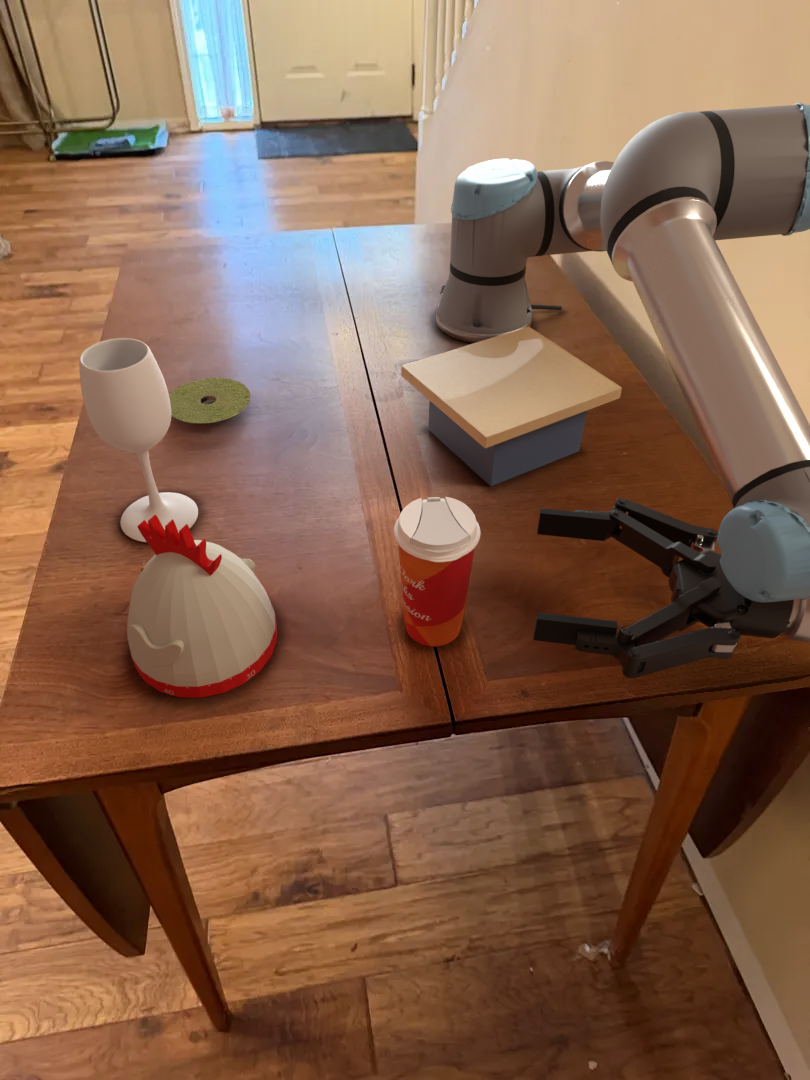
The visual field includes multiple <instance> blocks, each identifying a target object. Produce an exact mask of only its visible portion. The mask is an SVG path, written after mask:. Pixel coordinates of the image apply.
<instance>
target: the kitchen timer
mask: <svg viewBox="0 0 810 1080" xmlns="http://www.w3.org/2000/svg"><path fill="white" fill-rule="evenodd" d="M137 527H138V529H139V531H140V533H141V534H142V536H143V537H144V539H145V540H146V542H145V543H147V545H148V546H149V547H150V549H151V551H152V552H153V553H154V555H153V556H152V557H151V558H150V559H149V560H148V561H147V563H146V564H145V565H144V566H142V567H141V568H140V574H139V575H138V577H137V579H136V580H135V583H134V585H133V587H132V592H131V595H130V602H129V606H128V607H129V608H128V615H127V623H126V625H127V626H126V636H127V637H126V639H127V643H128V647H129V651H130V656H131V659H132V662H133V665H134V667H135V668H134V669H135V670H136V671H137V673H138V674H139V676H140V677H141V678H142V679H143V681H144V682H145V683H146V684H147V685H149V686H150V687H152V688H154V689H155V690H157V691H158V692H160V693H163V694H165V695H169V696H173V697H178V698H188V699H189V698H190V699H199V698H200V699H201V698H207V697H213V696H217V695H221V694H224V693H226V692H229V691H231V690H233V689H235V688H237V687H240V686H242V685H244V684H245V683H246V682H248V681H250V679H252V678H253V677H255V676H256V675H257V674H258V673H260V672H261V670H262V669H263V668H264V666H265V665H266V664H267V662H268V661H269V660H270V659H271V657H272V656H273V653H274V650H275V647H276V644H277V642H278V625H277V623H278V622H277V618H276V613H275V609H274V607H273V605H272V602H271V599H270V597H269V595H268V593H267V591H266V589H265V587H264V586H263V585H262V583H261V581H260V579H259V578H258V577H257V575H256V574H255V573H256V569H257V568H256V564H255V563H254V561H253V560H252V559H250V558H242V557H239V556H238V555H237V554H235V553H234V552H232V551H231V550H228V549H226V548H225V547H224V546H222V545H220V544H217V543H215V542H214V543H213V542H210V541H207V540H206V539H205V538H203V539H202V540H201V539H194V536H193V534H192V531H191V528H190V529H189V526H188V525H187V524H186V525H185V526H184V527H183V528H182V529H181V530H180V531H179V532H178V530H177V527H176V525H175V522H174V520H173V519H172V520H171V521H170V522H169V523H168V524H167V525H166V526H165V530H164V528H163V526H162V524H161V522H160V521H159V519H158V517H157V516H156V515H154V516H153V517H152V518H151V519H149V520H148V523H147V522H146V521H145V520H144V521H143V522H141V523H140V524H139V525H138V526H137Z"/></svg>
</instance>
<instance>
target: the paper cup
mask: <svg viewBox="0 0 810 1080" xmlns="http://www.w3.org/2000/svg"><path fill="white" fill-rule="evenodd" d="M393 535H394V539H395V542H396V543H397V546H398V559H399V560H398V561H399V569H400V570H399V571H400V584H401V585H400V586H401V597H402V608H403V618H404V625H405V630H406V633H407V635H408V636H409V637H410V638H411V640H413V641H414V642H416V643H417V644H420V645H422V646H426V647H433V648H435V647H443V646H445V645H448V644H451V642H453V641H454V640H455V639H456V638H457V637H458V636H459V634H460V632H461V630H462V629H461V628H462V624H463V619H464V614H465V609H466V603H467V596H468V592H469V591H468V590H469V584H470V578H471V573H472V567H473V562H474V554H475V550H476V549H475V548H476V547H477V545H478V544H479V542H480V539H481V527H480V524H479V522H478V521H477V518H476V515H475V513H474V512H473V510H472V509H471V507H469V506H468V505H467V504H466V503H464V502H463V501H461V500H458V499H456V498H453V497H449V496H445V498H444V497H443V498H441V497H440V496H432V497H431V496H430V497H427V498H426V499H425V498H423V499H422V497H420V498H417V499H414V500H413V501H411V502H408V504H407V505H406V506H405V507H404V508H403V509H402V510H401V512H400V514H399V517H398V518H397V519H396V521H395V523H394V527H393Z"/></svg>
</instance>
